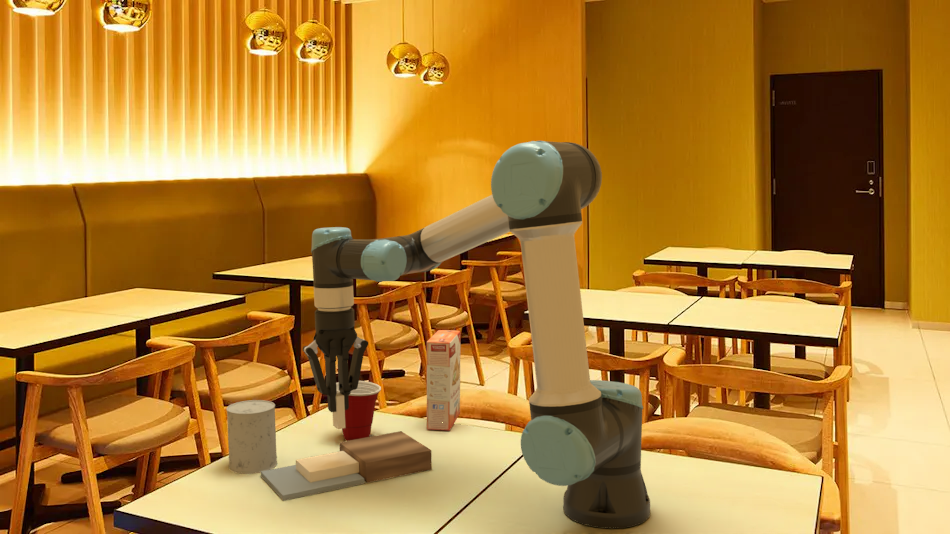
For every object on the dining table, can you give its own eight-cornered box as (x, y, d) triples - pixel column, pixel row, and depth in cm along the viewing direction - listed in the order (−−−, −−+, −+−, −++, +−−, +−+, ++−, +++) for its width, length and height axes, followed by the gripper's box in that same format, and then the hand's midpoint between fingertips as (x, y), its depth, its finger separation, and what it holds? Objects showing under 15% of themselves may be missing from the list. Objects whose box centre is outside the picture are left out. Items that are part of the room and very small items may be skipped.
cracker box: (451, 431, 195) (451, 341, 192) (425, 430, 196) (424, 341, 193) (462, 413, 209) (461, 329, 206) (437, 412, 209) (437, 328, 207)
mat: (364, 483, 164) (364, 478, 164) (283, 500, 156) (283, 495, 156) (337, 461, 176) (337, 456, 176) (260, 476, 168) (260, 471, 168)
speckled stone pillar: (219, 465, 174) (217, 407, 173) (260, 453, 181) (258, 397, 179) (245, 477, 168) (243, 416, 166) (286, 464, 175) (284, 406, 173)
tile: (359, 472, 167) (358, 462, 167) (310, 482, 162) (310, 472, 162) (343, 460, 174) (343, 450, 174) (296, 469, 169) (295, 459, 169)
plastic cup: (376, 446, 185) (375, 392, 184) (327, 445, 186) (326, 391, 185) (386, 430, 196) (385, 379, 194) (340, 429, 197) (338, 378, 195)
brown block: (431, 469, 171) (431, 450, 171) (366, 483, 164) (366, 462, 164) (401, 449, 183) (401, 431, 183) (339, 461, 176) (339, 442, 176)
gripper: (358, 302, 171) (362, 416, 174) (295, 308, 165) (300, 427, 167) (373, 306, 165) (377, 425, 167) (308, 314, 158) (313, 437, 161)
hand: (339, 426), depth 167 cm, fingers closed
